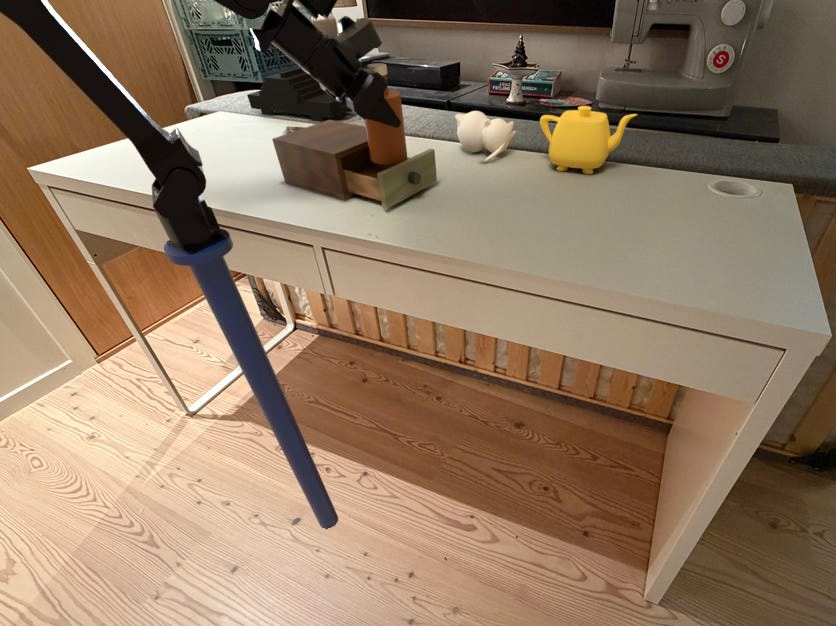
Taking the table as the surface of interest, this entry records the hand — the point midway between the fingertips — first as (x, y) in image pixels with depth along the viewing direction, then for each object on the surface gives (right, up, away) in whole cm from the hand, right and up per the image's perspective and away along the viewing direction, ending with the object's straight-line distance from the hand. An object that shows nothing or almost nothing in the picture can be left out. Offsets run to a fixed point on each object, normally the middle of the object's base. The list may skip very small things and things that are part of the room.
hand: (392, 120), depth 77 cm
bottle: (-1, -5, +4) cm, 6 cm away
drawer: (-3, -8, +7) cm, 11 cm away
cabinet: (-12, -5, +12) cm, 18 cm away
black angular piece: (-32, +27, +47) cm, 63 cm away
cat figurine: (+15, +4, +22) cm, 27 cm away
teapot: (+35, -1, +15) cm, 38 cm away
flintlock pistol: (-21, +11, +31) cm, 39 cm away
